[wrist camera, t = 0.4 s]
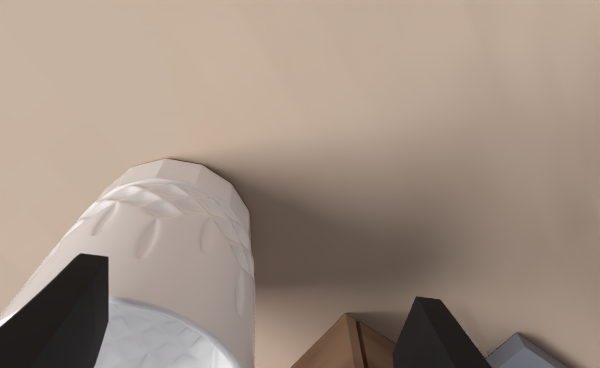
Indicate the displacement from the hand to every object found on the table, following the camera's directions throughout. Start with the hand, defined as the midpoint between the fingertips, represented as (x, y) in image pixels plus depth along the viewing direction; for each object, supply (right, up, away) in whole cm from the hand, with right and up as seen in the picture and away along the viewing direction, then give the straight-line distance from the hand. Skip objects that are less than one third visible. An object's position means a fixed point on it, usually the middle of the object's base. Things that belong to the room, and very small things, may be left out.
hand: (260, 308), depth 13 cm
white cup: (-5, +1, +11) cm, 12 cm away
